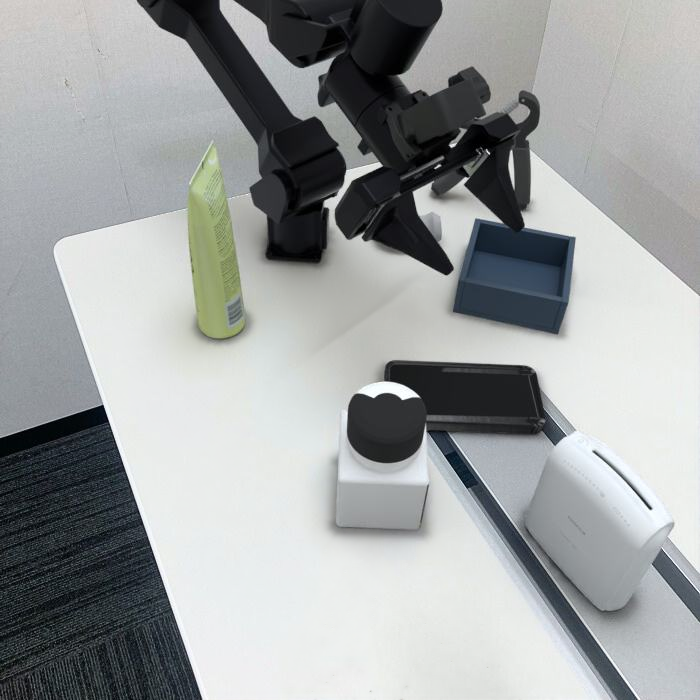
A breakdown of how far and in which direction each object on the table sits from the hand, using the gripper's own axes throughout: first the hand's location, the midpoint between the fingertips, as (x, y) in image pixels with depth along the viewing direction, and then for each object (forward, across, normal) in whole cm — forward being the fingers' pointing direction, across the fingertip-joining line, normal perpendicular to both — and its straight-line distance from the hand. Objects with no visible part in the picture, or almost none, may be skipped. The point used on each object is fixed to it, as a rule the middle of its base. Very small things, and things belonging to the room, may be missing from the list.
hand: (487, 250), depth 65 cm
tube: (-12, -14, +24) cm, 30 cm away
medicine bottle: (+12, -16, +12) cm, 23 cm away
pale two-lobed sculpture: (-9, +10, +22) cm, 26 cm away
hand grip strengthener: (-10, +24, +23) cm, 34 cm away
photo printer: (+25, -8, +5) cm, 27 cm away
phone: (+9, -3, +13) cm, 16 cm away
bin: (+3, +14, +16) cm, 21 cm away
